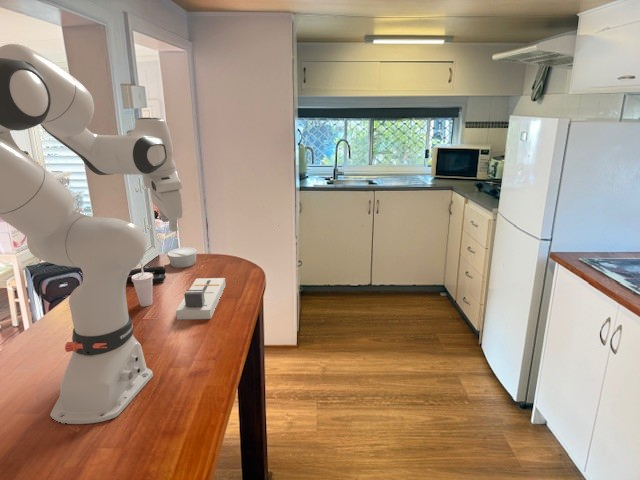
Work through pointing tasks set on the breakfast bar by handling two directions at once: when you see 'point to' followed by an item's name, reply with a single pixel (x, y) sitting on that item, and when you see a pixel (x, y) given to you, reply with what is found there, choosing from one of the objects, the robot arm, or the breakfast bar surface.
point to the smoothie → (143, 286)
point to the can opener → (157, 275)
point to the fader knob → (194, 298)
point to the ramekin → (182, 257)
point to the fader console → (211, 294)
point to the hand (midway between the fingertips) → (169, 225)
